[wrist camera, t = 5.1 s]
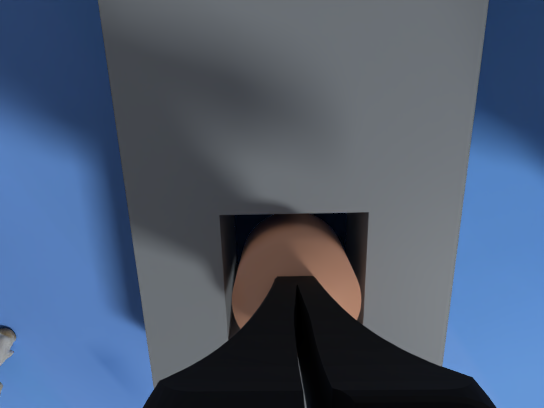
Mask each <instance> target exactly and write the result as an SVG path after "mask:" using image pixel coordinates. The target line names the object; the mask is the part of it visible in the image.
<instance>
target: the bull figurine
mask: <svg viewBox="0 0 544 408" xmlns="http://www.w3.org/2000/svg"><path fill="white" fill-rule="evenodd" d="M15 340H16V335H15V333H14V332H13V331H12V330H10V329H7V328H3V329H0V366H1V364H2V363H3V362H4V361H5V360H6V359H7V358H9V357H10V356H11V355H12V354H13V353H14V351H12V350H10V348H11V346H12V344H13V342H14V341H15ZM2 387H3V385H2V383H1V382H0V394H1V390H2Z"/></svg>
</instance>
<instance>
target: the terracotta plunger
mask: <svg viewBox="0 0 544 408" xmlns="http://www.w3.org/2000/svg"><path fill="white" fill-rule="evenodd" d="M277 276H314V277H315V278H316V279H317V280H318V282H319V283H320V284H321V285H322V286H323V288H324V289H325V290H326V291H327V292H328V293H329V295H330V296H331V297H332V298H333V299H334V300H335V301H336V302H337V303H338V304H339V305H340V306H341V307H342V308H343V309H344V310H345V311H346V312H348V313H349V314H350V315H351V316H352V317H353V318H355V319H356V320H357V319H358V316H359V313H360V308H361V291H360V286H359V283H358V280H357V278H356V275H355V273H354V271H353V269H352V267H351V264H350V262H349V260H348V258H347V256H346V253H345V251H344V249H343V247H342V245H341V242H340V240H339V238H338V236H337V234H336V233H335V231H334V230H333V229H332V228H331V227H330V226H329V225H328V224H327V223H326V222H325V221H324V220H322V219H320V218H319V217H317V216H315V215H312V214H309V213H303V214H274V215H271V216H269V217H267V218H265V219H264V220H262V221H261V222H259V223H258V224H257V225H256V226H255V227H254V228H253V229H252V231H251V232H250V234H249V235H248V237H247V239H246V241H245V244H244V247H243V251H242V255H241V259H240V263H239V267H238V271H237V275H236V279H235V283H234V287H233V292H232V309H233V313H234V317H235V319H236V322H237V324H238V326H239V327H240V329H241V328H242V327H243V326H244V325H245V324H246V323H247V322H248V320H249V319H250V318H251V317H252V315H253V314H254V313H255V312H256V310H257V309H258V308H259V306H260V305H261V303H262V302H263V300H264V299H265V297H266V296H267V294H268V292H269V291H270V289H271V287H272V285H273V282H274V279H275V278H276V277H277Z"/></svg>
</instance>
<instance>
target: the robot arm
mask: <svg viewBox="0 0 544 408" xmlns="http://www.w3.org/2000/svg"><path fill="white" fill-rule="evenodd" d="M298 361H299V363H298ZM299 367H300V369H299ZM300 372H301V375H300ZM301 378H302V381H301ZM302 384H303V386H302ZM303 389H304V392H303ZM304 395H305V401H306V406H307V408H496V406H495V405H494V404H493V402H492V401H491V400H490V398H489V397H488V395H487V394H486V393H485V392H484V391H483V389H482V388H481V387H480V386H479V385H478V383H477V382H476V381H475V380H474V379H473V377H470V376H467V375H464V374H461V373H459V372H456V371H453V370H450V369H447V368H444V367H442V366H439V365H436V364H434V363H431V362H429V361H427V360H424V359H422V358H420V357H418V356H415V355H413V354H411V353H409V352H407V351H405V350H403V349H401V348H399V347H397V346H396V345H394V344H392V343H390V342H388V341H387V340H385V339H383V338H382V337H380V336H378V335H377V334H375V333H374V332H372V331H371V330H369V329H368V328H367V327H365V326H364V325H362V324H361V323H360V322H358V321H357V320H356V319H355V318H353V317H352V316H351V315H350V314H349V313H348V312H346V311H345V310H344V309H343V308H342V307H341V306H340V305H339V304H338V303H337V302H336V301H335V300H334V299H333V298H332V297H331V296H330V295H329V293H328V292H327V291H326V290H325V289H324V288H323V286H322V285H321V284H320V283H319V282H318V280H317V279H316V278H315V277H314V276H277V277H276V278H275V279H274V282H273V285H272V287H271V289H270V291H269V292H268V294H267V296H266V297H265V299H264V300H263V302H262V303H261V305H260V306H259V308H258V309H257V310H256V312H255V313H254V314H253V315H252V317H251V318H250V319H249V320H248V322H247V323H246V324H245V325H244V326H243V327H242V328H241V329H240V330H239V331H238V332H237V333H236V334H235V335H234V336H233V337H232V338H231V339H229V340H228V341H227V342H226V343H224V344H223V345H222V346H221V347H219V348H218V349H217V350H215V351H214V352H212V353H211V354H209V355H208V356H206V357H205V358H203V359H201V360H200V361H198V362H196V363H195V364H193V365H191V366H189V367H187V368H185V369H183V370H181V371H179V372H177V373H175V374H173V375H171V376H169V377H167V378H164V379H162V380H160V381H159V382H158V383H157V385H156V387H155V388H154V390H153V392H152V393H151V395H150V397H149V398H148V400H147V401H146V403H145V405H144V407H143V408H305V404H304Z"/></svg>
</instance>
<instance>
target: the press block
mask: <svg viewBox="0 0 544 408" xmlns="http://www.w3.org/2000/svg"><path fill="white" fill-rule="evenodd" d="M488 3H489V0H98V5H99V12H100V18H101V25H102V32H103V39H104V46H105V53H106V60H107V67H108V74H109V81H110V88H111V95H112V101H113V108H114V115H115V122H116V129H117V136H118V143H119V150H120V157H121V164H122V171H123V178H124V184H125V191H126V198H127V205H128V212H129V219H130V226H131V233H132V240H133V247H134V254H135V261H136V268H137V274H138V281H139V288H140V295H141V302H142V309H143V316H144V323H145V330H146V337H147V344H148V351H149V357H150V364H151V371H152V378H153V385H154V388H155V387H156V385H157V383H158V382H159V381H160V380H162V379H164V378H167V377H169V376H171V375H173V374H175V373H177V372H179V371H181V370H183V369H185V368H187V367H189V366H191V365H193V364H195V363H196V362H198V361H200V360H201V359H203V358H205V357H206V356H208V355H209V354H211V353H212V352H214V351H215V350H217V349H218V348H219V347H221V346H222V345H223V344H224V343H226V342H227V341H228V340H229V339H231V338H232V337H233V336H234V335H235V334H236V333H237V332H238V331H239V330H240V327H239V326H238V324H237V322H236V319H235V317H234V313H233V309H232V292H233V287H234V283H235V279H236V275H237V271H238V266H237V249H236V232H235V215H251V214H303V213H347V221H346V251H345V253H346V256H347V258H348V260H349V262H350V264H351V267H352V269H353V271H354V273H355V275H356V278H357V280H358V283H359V286H360V291H361V308H360V313H359V316H358V319H357V321H358V322H360V323H361V324H362V325H364V326H365V327H367V328H368V329H369V330H371V331H372V332H374V333H375V334H377V335H378V336H380V337H382V338H383V339H385V340H387V341H388V342H390V343H392V344H394V345H396V346H397V347H399V348H401V349H403V350H405V351H407V352H409V353H411V354H413V355H415V356H418V357H420V358H422V359H424V360H427V361H429V362H431V363H434V364H436V365H439V366H442V364H443V356H444V348H445V340H446V332H447V325H448V317H449V309H450V301H451V293H452V285H453V277H454V270H455V262H456V254H457V246H458V238H459V230H460V223H461V215H462V207H463V199H464V191H465V183H466V176H467V168H468V160H469V152H470V144H471V136H472V128H473V121H474V113H475V105H476V97H477V89H478V81H479V74H480V66H481V58H482V50H483V42H484V34H485V27H486V19H487V11H488ZM298 363H299V361H298ZM299 369H300V367H299ZM300 375H301V372H300ZM301 381H302V378H301ZM302 386H303V384H302ZM303 392H304V389H303ZM304 404H305V408H307V406H306V401H305V395H304Z"/></svg>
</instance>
